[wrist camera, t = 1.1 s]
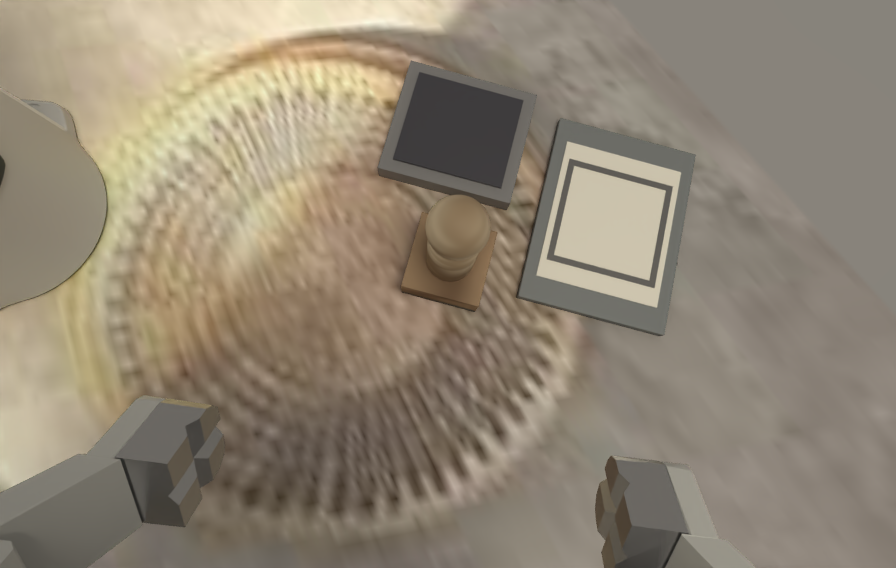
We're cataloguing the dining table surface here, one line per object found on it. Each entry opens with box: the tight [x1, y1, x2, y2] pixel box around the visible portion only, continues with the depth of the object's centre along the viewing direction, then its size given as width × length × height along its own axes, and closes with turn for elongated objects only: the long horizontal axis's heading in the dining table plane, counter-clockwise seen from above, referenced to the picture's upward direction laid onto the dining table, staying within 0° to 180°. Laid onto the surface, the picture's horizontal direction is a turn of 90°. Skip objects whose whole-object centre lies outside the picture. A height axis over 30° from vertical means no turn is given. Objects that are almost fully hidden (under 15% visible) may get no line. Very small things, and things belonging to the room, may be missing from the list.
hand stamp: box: [401, 195, 497, 312], centre depth 36 cm, size 6×6×13 cm
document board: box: [517, 118, 696, 336], centre depth 43 cm, size 12×16×1 cm
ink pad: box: [378, 61, 537, 210], centre depth 43 cm, size 11×10×2 cm
